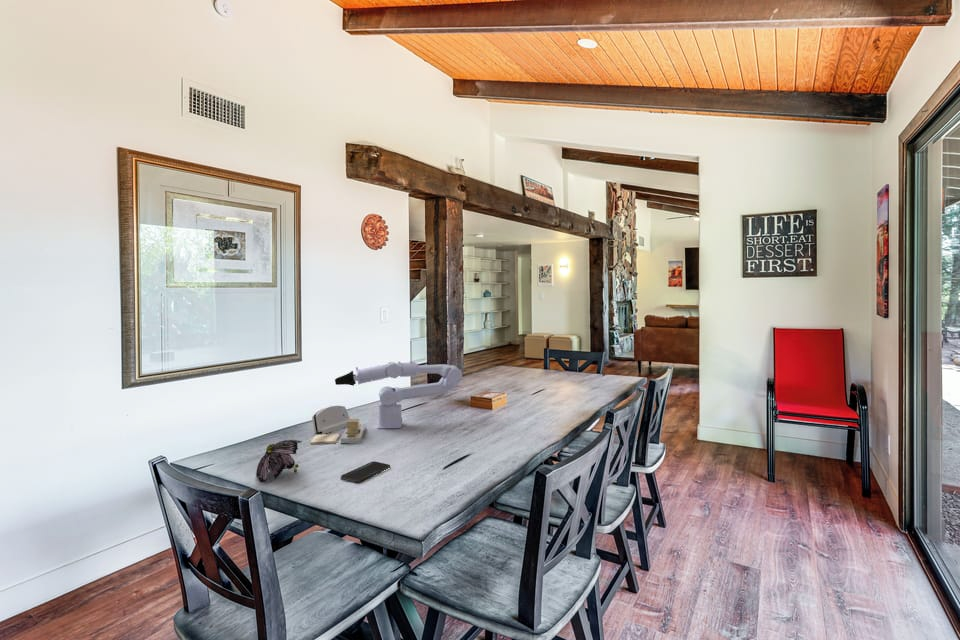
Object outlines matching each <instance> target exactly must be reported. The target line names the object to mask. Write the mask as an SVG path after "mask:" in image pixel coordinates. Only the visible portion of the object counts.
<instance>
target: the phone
mask: <svg viewBox="0 0 960 640" xmlns="http://www.w3.org/2000/svg"><path fill="white" fill-rule="evenodd" d="M388 468H390V469H391V464H389V463H385V462H378V461H370V462H368V463H365V464H364V465H361V466H359V467H357V468H355V469H353V470H350V471H347V472H346V473H344V474H342V475H340V480H342V481H345V480H346V482H348V483H349V482H350V483H353V482H354V484H360V483H363V482H365V481H367V480H369V479H372V478H373V476H374V475H376V474H378V475H379V473H380V474H381V472H382V471H384V470H386V469H388ZM388 470H389V469H388ZM386 471H387V470H386ZM384 472H385V471H384ZM382 473H383V472H382ZM376 476H377V475H376ZM371 477H372V478H371ZM374 477H375V476H374Z"/></svg>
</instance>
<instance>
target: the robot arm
mask: <svg viewBox="0 0 960 640" xmlns="http://www.w3.org/2000/svg"><path fill="white" fill-rule="evenodd" d="M419 374H438V375H440V376H441V378H440V379H439V381H437V382H431V383H427V384H426V383H425V384H424V383H423V384H419V385H412V386H405V387H397V386H395V387H392V386H383V387H382V388H380V390H379V393H378V397H379V403H378V424H377V427H376V429H377V430H379V429H382V430H383V429H400V428H402V424H403V418H402V417H403V416H402V411H403V410H402V404H401V403H400V402H402V401H405V400H410V399H412V400H413V399H418V398H423V397H430V396H436V395H437V396H438V395H443V394H444V395H445V394H447V393H448V392H449V391H450V390H452V389H453V388H454V387H455V386H458V385H459V384H460V382H461V380H462V378H463V372H462V370H461V369H460V368H458V367H457V366H456V365H454V364H445V363H442V364H425V365H424V364H423V365H421V364H420V365H419V364H418V363H417V362H414V361H412V360H410V361H409V362H401V361H397V362H394V361H390V362H386V364H382V365H375V366H369V367H364V368H361V369H359V367H358V366H357V367H355V374H354V371H353V370H351V371H349V372H348V373H345V374H343V375H340V376H339V377H336V378H334V383H335V385H336V386H337V385H339V386H340V385H341V386H342V385H343V386H344V385H346V386H347V385H349V386H355V385H356V384H357V383H358V385H361V384H366V383H370V382H375V381H379V380H384V379H387V378H392V379H397V378H398V377H400V378H401V377H417V376H418V375H419ZM356 382H357V383H356ZM398 403H399V404H398Z"/></svg>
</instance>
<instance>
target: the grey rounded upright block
mask: <svg viewBox="0 0 960 640" xmlns="http://www.w3.org/2000/svg"><path fill="white" fill-rule="evenodd" d="M311 418H312V419H311V420H312V425H313V426H312V427H313V432H314V434H319V433H320V432H321V435H323V434H326V433H328V434H330V433H329V432H331V433H333V432H336V431H338V429H339V430H341V428H342V429H345V428H347V421H348V420H349V419H351V418H350V416H349V413H348V411H347V408H346V406H343V405H331V406H326V407H324V408H321V409H320V410H318V411H317V412H315V413H314V414H313V415H312V416H311ZM344 427H345V428H344ZM335 430H336V431H335ZM332 431H333V432H332Z"/></svg>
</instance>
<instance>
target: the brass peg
mask: <svg viewBox="0 0 960 640" xmlns="http://www.w3.org/2000/svg"><path fill="white" fill-rule="evenodd" d="M359 424H360V418H350V419H349V420H348V421H347V427H346V428H347V434H357V433H360V426H359Z"/></svg>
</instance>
